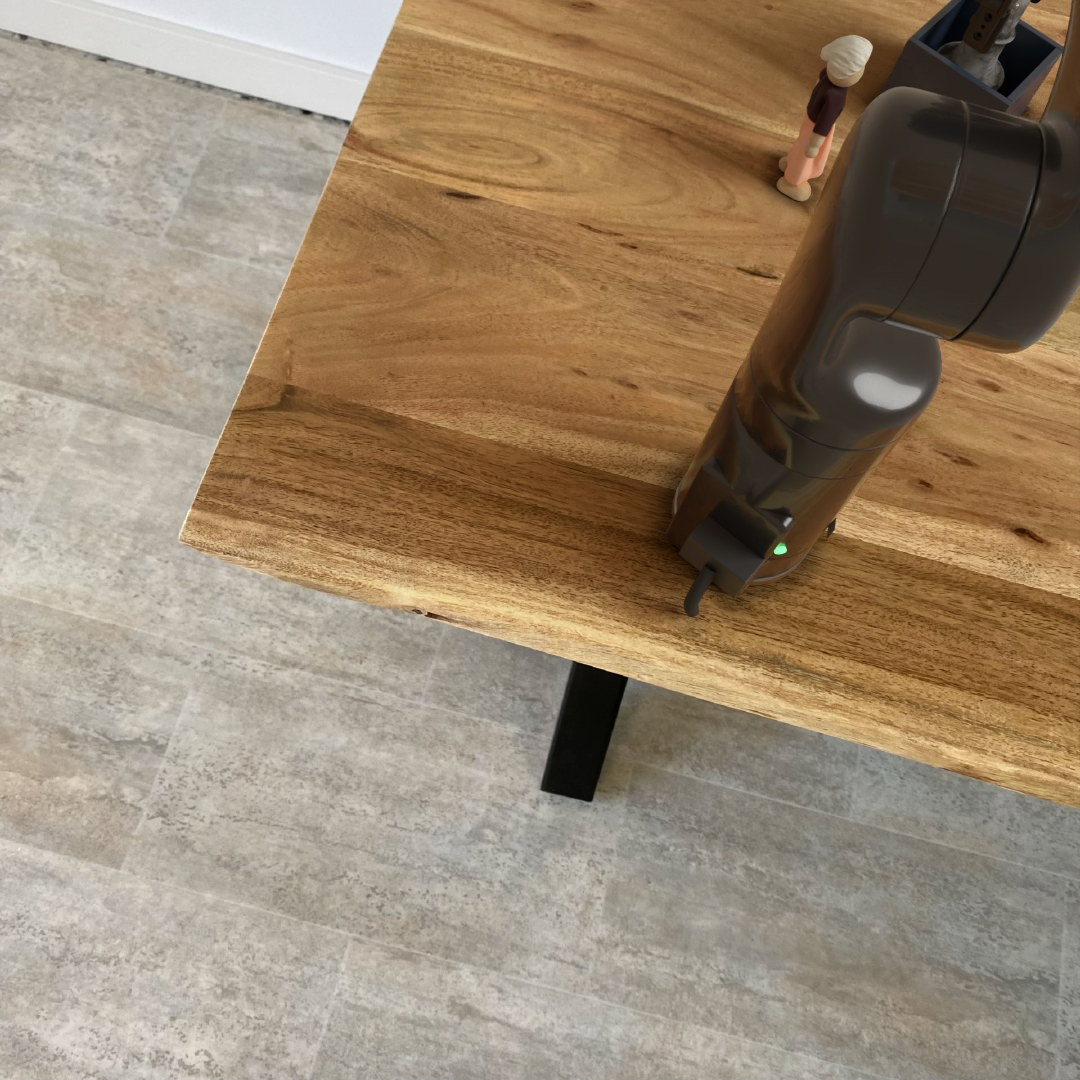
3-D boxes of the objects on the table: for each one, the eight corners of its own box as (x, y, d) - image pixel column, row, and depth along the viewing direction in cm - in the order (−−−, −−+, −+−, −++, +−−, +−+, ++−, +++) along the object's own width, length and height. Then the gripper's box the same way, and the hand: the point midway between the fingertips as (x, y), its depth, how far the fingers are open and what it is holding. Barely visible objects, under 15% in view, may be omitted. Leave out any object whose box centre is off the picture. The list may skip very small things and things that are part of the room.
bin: (967, 169, 88) (1009, 105, 82) (874, 105, 90) (908, 38, 84) (1022, 112, 91) (1066, 47, 86) (931, 52, 93) (967, -16, 87)
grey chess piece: (982, 136, 89) (1063, 9, 78) (913, 118, 89) (985, -11, 78) (983, 86, 91) (1062, -43, 81) (916, 69, 91) (986, -62, 80)
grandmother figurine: (823, 213, 84) (891, 82, 72) (775, 208, 83) (836, 75, 72) (814, 140, 87) (878, 3, 76) (768, 135, 87) (825, -4, 75)
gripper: (1134, -125, 65) (997, 92, 79) (1229, -213, 70) (1085, 5, 85) (1028, -187, 66) (913, 37, 81) (1129, -269, 72) (1005, -46, 86)
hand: (1001, 20), depth 83 cm, fingers open, 8 cm apart
